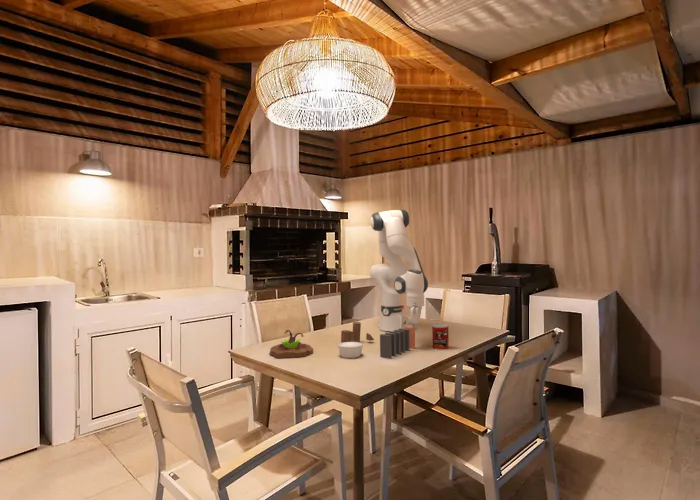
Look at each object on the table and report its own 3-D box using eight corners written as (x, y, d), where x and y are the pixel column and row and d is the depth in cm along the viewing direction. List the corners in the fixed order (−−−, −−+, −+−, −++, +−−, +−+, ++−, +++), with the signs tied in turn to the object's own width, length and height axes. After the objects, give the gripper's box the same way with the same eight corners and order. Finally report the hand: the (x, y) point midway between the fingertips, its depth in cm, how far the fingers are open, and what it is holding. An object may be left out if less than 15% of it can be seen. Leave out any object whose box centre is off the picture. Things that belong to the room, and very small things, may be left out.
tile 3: (391, 352, 193) (391, 331, 193) (400, 354, 190) (400, 332, 190) (389, 353, 191) (389, 331, 191) (399, 354, 188) (398, 332, 188)
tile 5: (382, 356, 186) (381, 334, 186) (391, 357, 183) (391, 335, 183) (380, 356, 185) (379, 334, 185) (389, 358, 182) (389, 335, 182)
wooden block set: (346, 348, 203) (347, 327, 202) (336, 343, 210) (337, 323, 209) (374, 343, 214) (375, 323, 213) (363, 339, 221) (364, 320, 220)
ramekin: (338, 352, 194) (338, 341, 194) (362, 352, 194) (362, 341, 194) (337, 359, 183) (337, 347, 183) (362, 359, 183) (362, 347, 183)
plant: (267, 350, 203) (266, 327, 203) (305, 346, 209) (305, 324, 209) (273, 360, 184) (273, 335, 184) (316, 355, 190) (316, 331, 190)
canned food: (431, 348, 199) (431, 326, 199) (433, 345, 206) (433, 323, 206) (447, 349, 196) (447, 326, 196) (449, 346, 203) (449, 323, 203)
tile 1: (400, 349, 199) (400, 328, 199) (409, 350, 196) (409, 329, 196) (398, 349, 198) (398, 328, 198) (407, 351, 195) (407, 330, 195)
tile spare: (406, 346, 203) (405, 326, 203) (415, 348, 200) (414, 327, 200) (404, 347, 202) (404, 327, 202) (413, 348, 199) (413, 328, 199)
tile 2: (396, 350, 196) (395, 329, 196) (405, 352, 193) (405, 330, 193) (394, 351, 195) (394, 330, 195) (403, 352, 192) (403, 331, 192)
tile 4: (387, 354, 190) (386, 332, 190) (396, 355, 186) (396, 333, 186) (385, 355, 188) (384, 333, 188) (394, 356, 185) (394, 334, 185)
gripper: (420, 305, 195) (420, 334, 195) (422, 299, 215) (423, 326, 215) (407, 304, 197) (407, 333, 197) (410, 299, 217) (411, 326, 216)
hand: (415, 330), depth 206 cm, fingers closed
